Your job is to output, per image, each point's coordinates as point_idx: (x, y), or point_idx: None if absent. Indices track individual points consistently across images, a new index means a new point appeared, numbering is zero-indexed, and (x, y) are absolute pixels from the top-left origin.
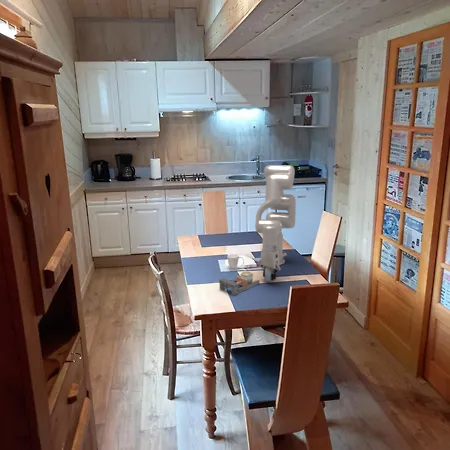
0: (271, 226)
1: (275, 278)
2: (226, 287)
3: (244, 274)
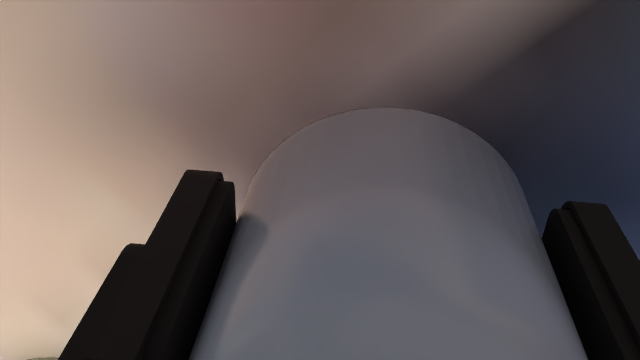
0: None
1: (601, 212)
2: None
3: None
